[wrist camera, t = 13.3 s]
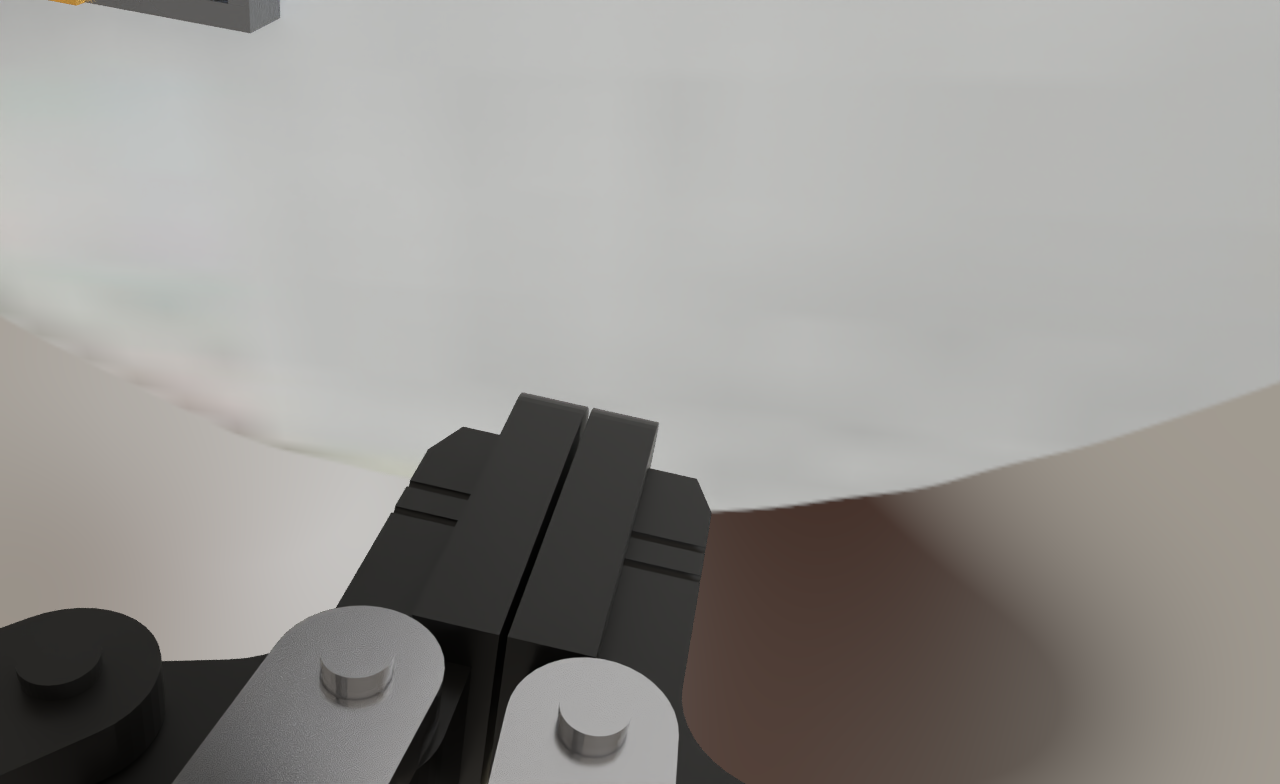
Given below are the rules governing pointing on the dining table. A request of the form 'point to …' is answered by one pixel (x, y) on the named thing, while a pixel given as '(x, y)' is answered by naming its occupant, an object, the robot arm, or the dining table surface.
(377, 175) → the dining table surface
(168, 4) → the rack
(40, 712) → the robot arm
